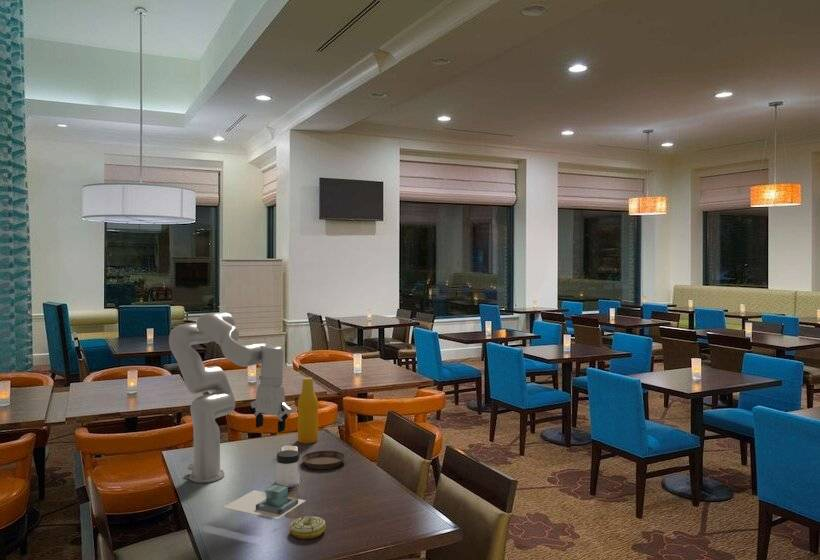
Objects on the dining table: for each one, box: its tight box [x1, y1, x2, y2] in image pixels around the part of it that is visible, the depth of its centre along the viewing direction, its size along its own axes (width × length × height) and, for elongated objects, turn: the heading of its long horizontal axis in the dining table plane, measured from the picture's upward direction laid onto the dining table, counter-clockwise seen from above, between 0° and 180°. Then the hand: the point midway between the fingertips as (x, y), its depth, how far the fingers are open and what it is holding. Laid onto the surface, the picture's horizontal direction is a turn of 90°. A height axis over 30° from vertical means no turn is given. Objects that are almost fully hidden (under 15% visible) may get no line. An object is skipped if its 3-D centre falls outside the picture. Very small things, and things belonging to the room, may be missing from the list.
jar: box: [275, 449, 300, 487], centre depth 218 cm, size 9×8×12 cm
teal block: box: [265, 484, 289, 508], centre depth 196 cm, size 5×5×6 cm
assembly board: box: [222, 489, 307, 520], centre depth 198 cm, size 22×16×3 cm
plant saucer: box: [301, 450, 346, 470], centre depth 243 cm, size 18×18×3 cm
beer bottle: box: [297, 377, 319, 444], centre depth 273 cm, size 9×9×29 cm
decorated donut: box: [288, 515, 327, 540], centre depth 181 cm, size 10×11×4 cm
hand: (270, 428), depth 210 cm, fingers open, 9 cm apart
